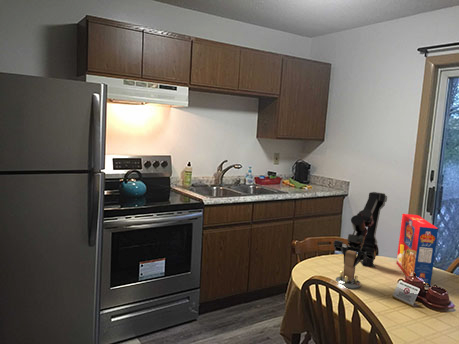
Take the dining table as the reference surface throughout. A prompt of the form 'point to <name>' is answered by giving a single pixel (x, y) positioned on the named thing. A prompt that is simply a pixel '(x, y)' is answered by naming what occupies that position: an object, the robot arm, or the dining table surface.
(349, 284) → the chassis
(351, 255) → the walnut block
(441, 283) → the dining table surface
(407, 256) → the pasta box
